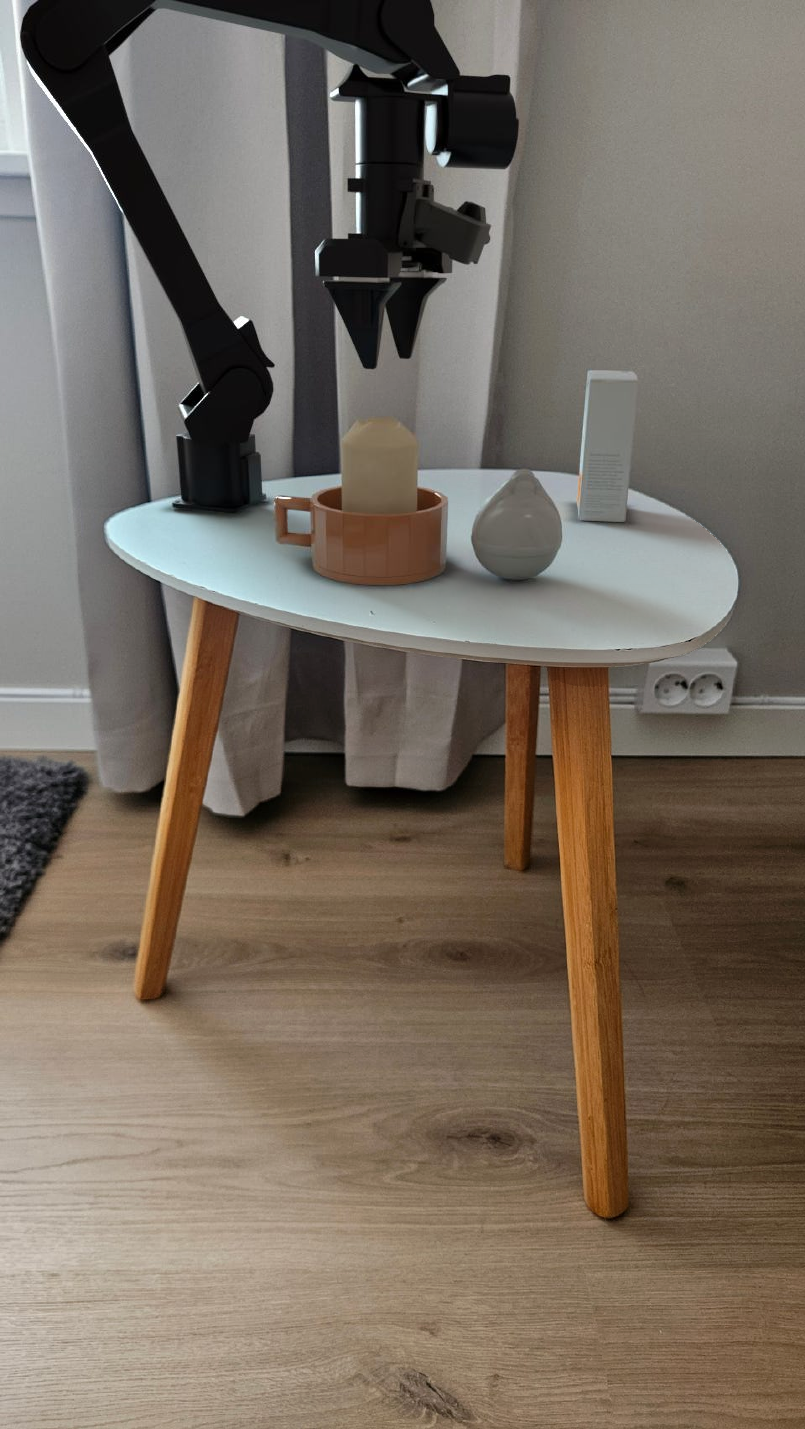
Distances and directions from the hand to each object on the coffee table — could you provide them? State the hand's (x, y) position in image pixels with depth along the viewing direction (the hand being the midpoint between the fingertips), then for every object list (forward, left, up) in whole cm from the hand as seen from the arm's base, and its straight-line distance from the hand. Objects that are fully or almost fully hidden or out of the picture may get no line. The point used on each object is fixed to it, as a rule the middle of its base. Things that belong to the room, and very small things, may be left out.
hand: (388, 363), depth 90 cm
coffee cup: (+5, -21, -12) cm, 25 cm away
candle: (+7, -21, -12) cm, 25 cm away
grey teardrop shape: (+17, -20, -12) cm, 29 cm away
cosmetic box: (+20, +1, -12) cm, 23 cm away
